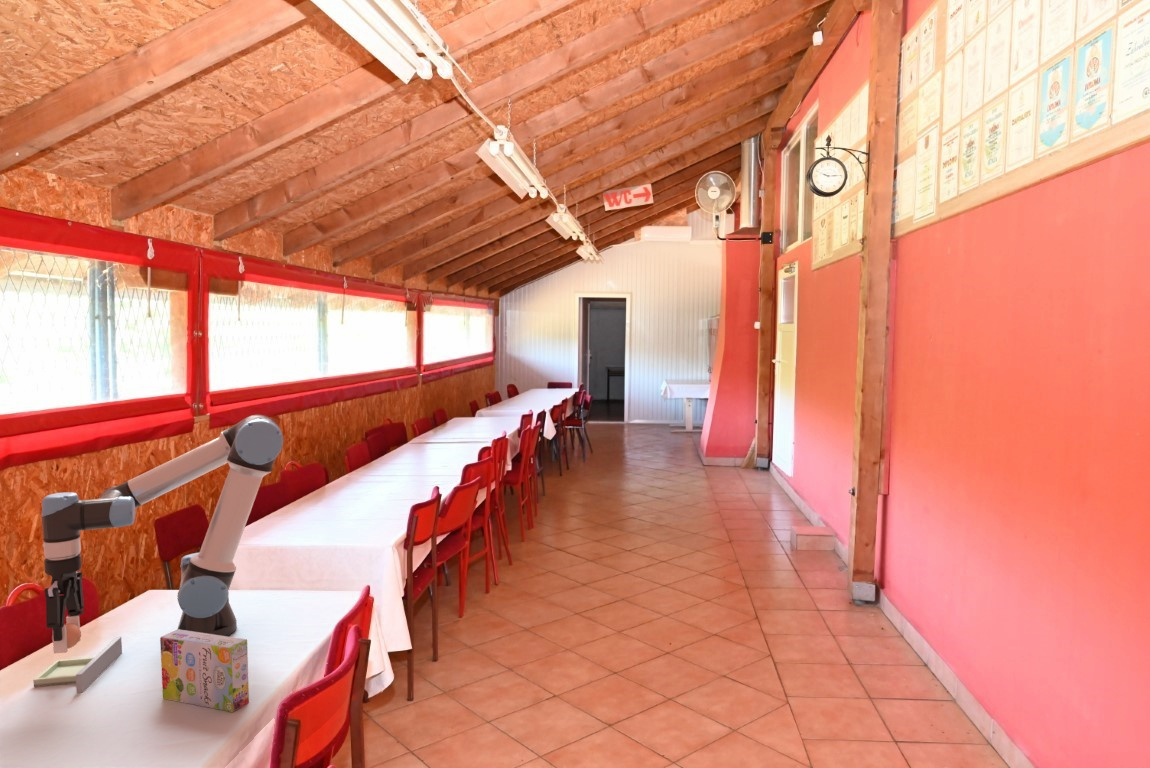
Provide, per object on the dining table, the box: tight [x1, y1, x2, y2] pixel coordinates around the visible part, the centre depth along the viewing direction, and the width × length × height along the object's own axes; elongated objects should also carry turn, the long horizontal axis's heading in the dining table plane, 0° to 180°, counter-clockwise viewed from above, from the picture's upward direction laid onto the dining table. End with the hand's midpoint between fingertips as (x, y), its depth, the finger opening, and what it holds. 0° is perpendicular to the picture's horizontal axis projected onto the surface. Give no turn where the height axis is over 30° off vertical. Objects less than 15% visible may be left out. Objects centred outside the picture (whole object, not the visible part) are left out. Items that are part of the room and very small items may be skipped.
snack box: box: [159, 628, 250, 713], centre depth 170 cm, size 21×6×15 cm, turn 71°
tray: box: [33, 656, 95, 688], centre depth 184 cm, size 11×11×2 cm
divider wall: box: [75, 636, 123, 694], centre depth 185 cm, size 1×22×4 cm, turn 10°
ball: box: [51, 623, 82, 650], centre depth 184 cm, size 6×6×6 cm
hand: (67, 646), depth 184 cm, fingers closed on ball, 6 cm apart
